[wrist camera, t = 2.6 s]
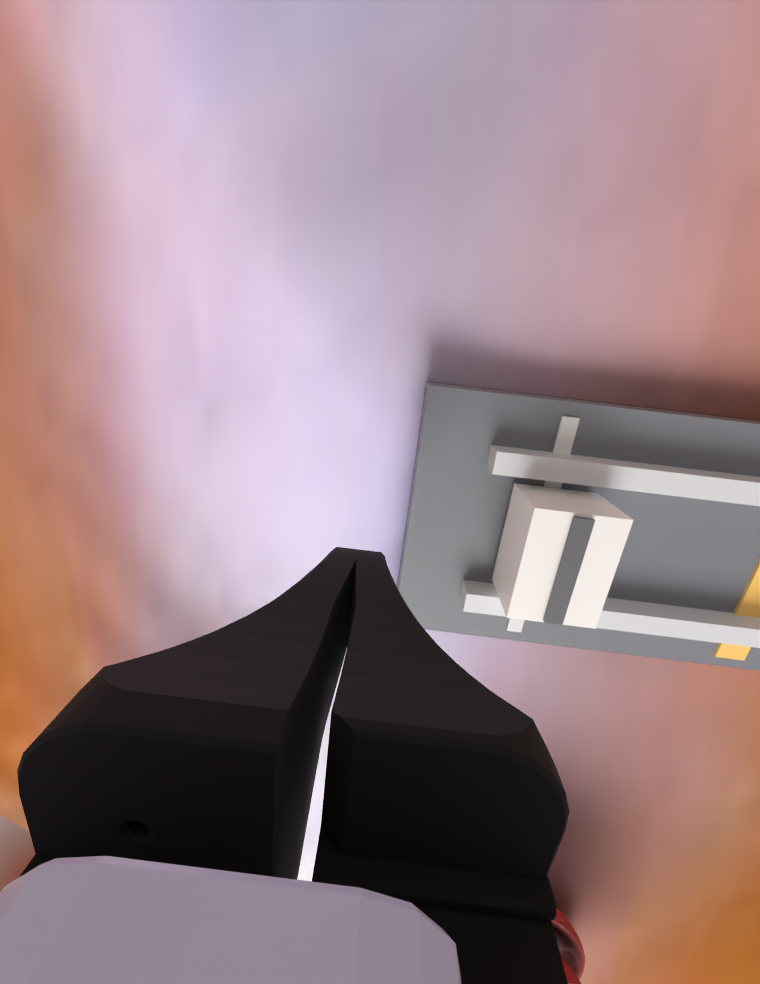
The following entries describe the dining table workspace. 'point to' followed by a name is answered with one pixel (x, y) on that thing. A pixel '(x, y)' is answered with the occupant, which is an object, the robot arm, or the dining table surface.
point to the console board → (620, 480)
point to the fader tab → (558, 555)
